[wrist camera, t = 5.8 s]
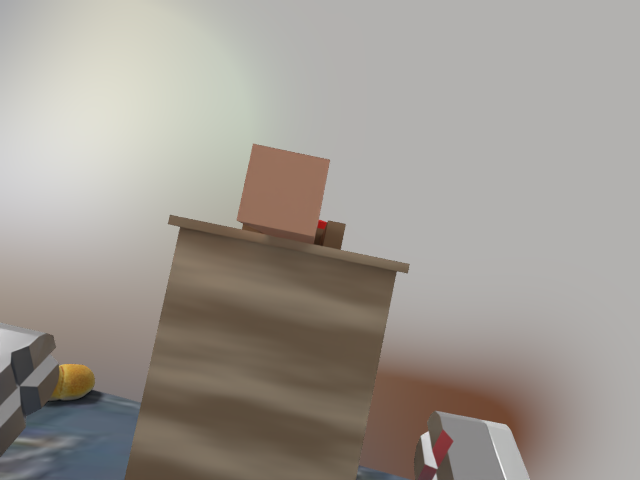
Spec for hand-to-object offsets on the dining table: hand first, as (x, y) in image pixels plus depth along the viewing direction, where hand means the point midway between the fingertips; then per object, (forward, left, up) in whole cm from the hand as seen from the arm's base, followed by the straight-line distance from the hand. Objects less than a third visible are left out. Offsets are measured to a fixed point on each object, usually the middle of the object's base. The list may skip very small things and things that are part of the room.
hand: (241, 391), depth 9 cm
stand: (+18, +11, -22) cm, 31 cm away
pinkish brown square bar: (+14, +8, +4) cm, 16 cm away
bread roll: (+27, +51, -23) cm, 62 cm away
